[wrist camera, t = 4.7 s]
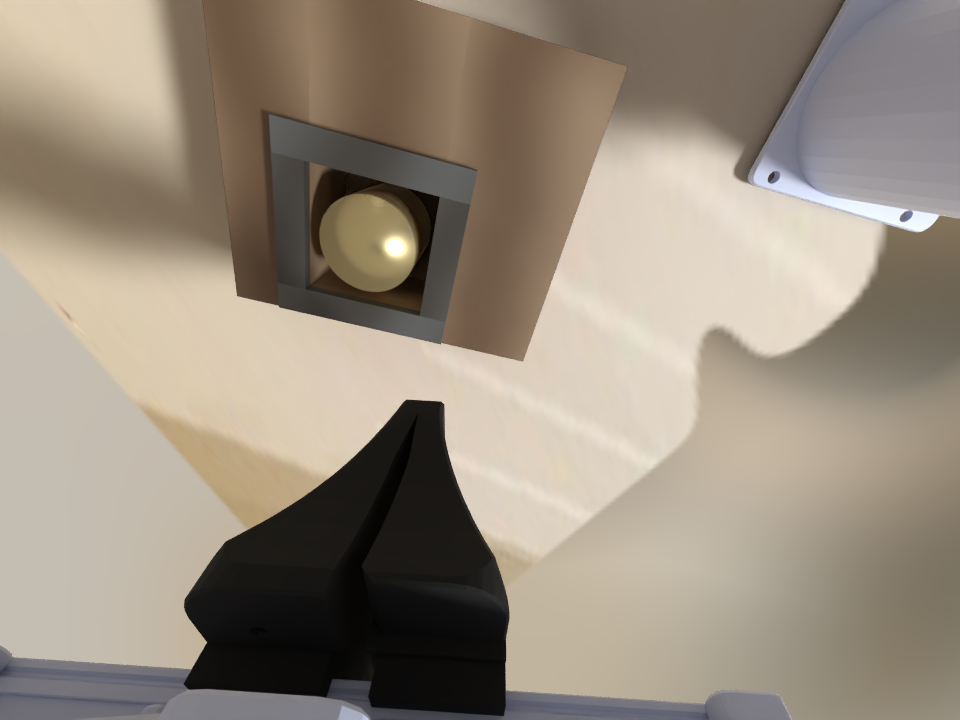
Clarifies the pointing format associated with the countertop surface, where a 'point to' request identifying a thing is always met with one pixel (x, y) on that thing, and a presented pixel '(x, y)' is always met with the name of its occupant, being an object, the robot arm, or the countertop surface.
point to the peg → (375, 236)
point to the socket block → (404, 156)
